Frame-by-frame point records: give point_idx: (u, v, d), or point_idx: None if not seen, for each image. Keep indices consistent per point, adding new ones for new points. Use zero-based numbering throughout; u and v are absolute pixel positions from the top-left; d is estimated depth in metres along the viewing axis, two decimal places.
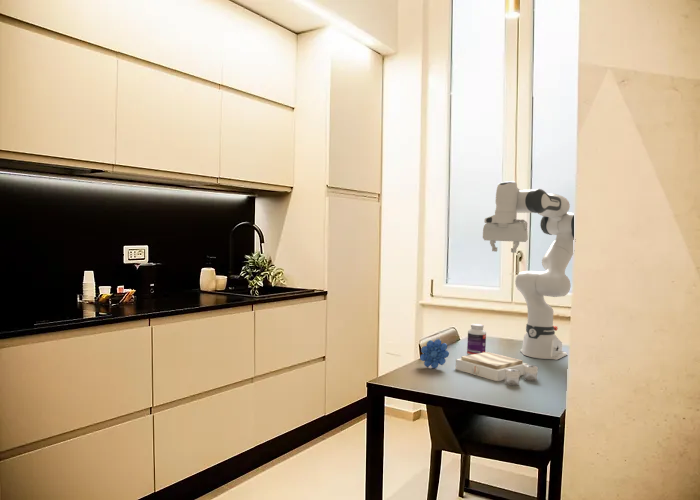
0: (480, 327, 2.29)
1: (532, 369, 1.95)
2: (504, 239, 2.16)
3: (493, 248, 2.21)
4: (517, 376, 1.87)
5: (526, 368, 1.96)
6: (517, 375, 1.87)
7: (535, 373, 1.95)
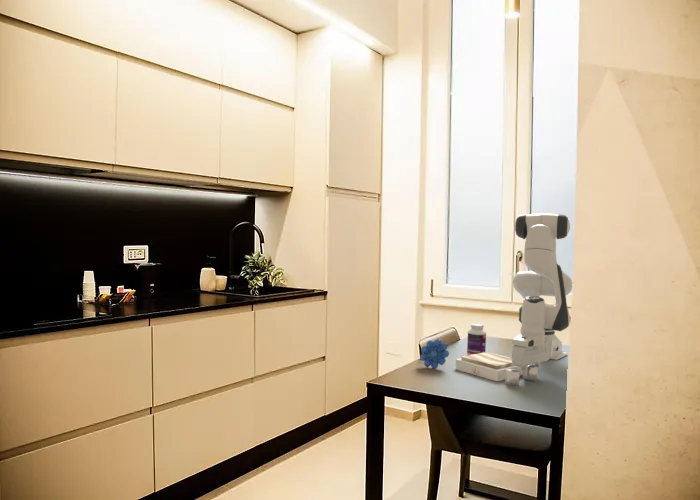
0: (480, 327, 2.29)
1: (532, 369, 1.95)
2: (536, 361, 1.96)
3: (527, 373, 1.94)
4: (517, 376, 1.87)
5: None
6: (517, 375, 1.87)
7: (535, 373, 1.95)
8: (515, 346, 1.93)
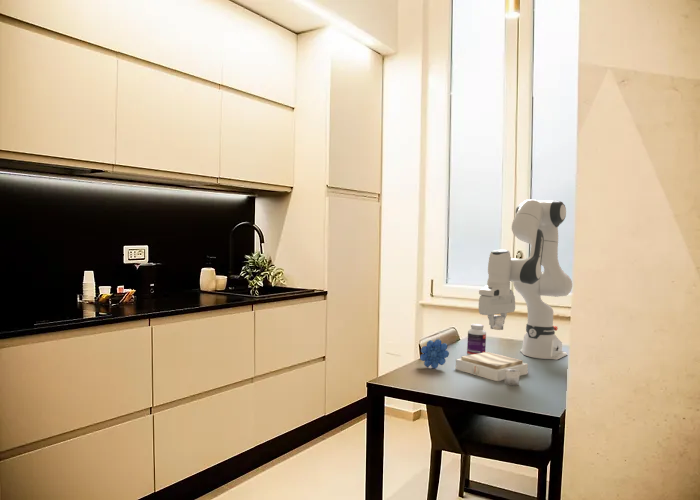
0: (480, 327, 2.29)
1: (498, 318, 2.03)
2: (502, 311, 2.05)
3: (494, 322, 2.03)
4: (517, 376, 1.87)
5: (493, 317, 2.04)
6: (517, 375, 1.87)
7: (501, 322, 2.04)
8: (482, 296, 2.01)
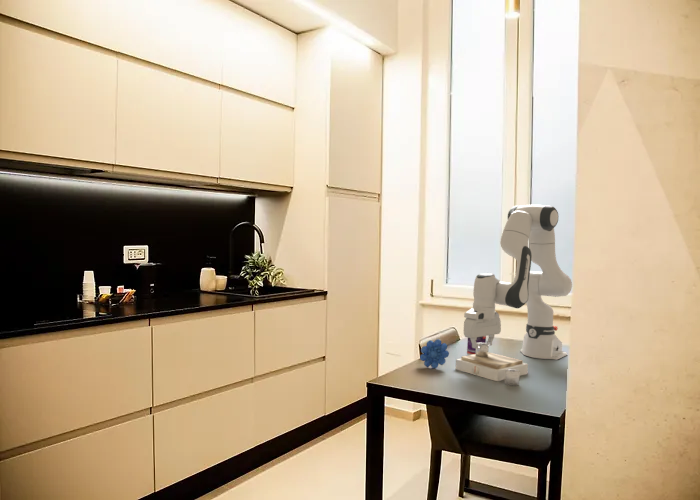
0: None
1: (483, 346, 2.08)
2: (487, 334, 2.09)
3: (476, 345, 2.06)
4: (517, 376, 1.87)
5: None
6: (517, 375, 1.87)
7: (486, 350, 2.08)
8: (467, 319, 2.06)
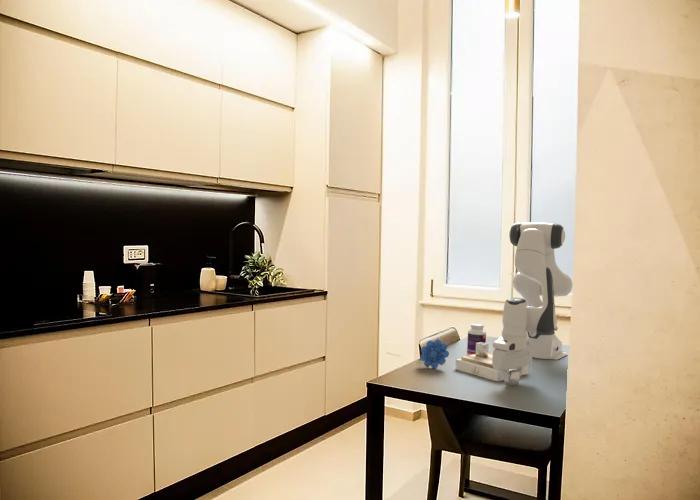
0: (480, 327, 2.29)
1: (483, 346, 2.08)
2: (518, 365, 1.89)
3: (509, 377, 1.87)
4: (517, 376, 1.87)
5: (477, 345, 2.09)
6: (517, 375, 1.87)
7: (486, 350, 2.08)
8: (496, 350, 1.85)
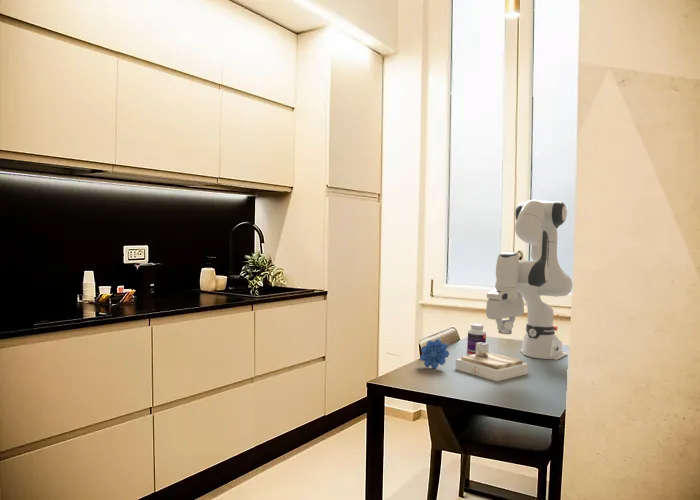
0: (480, 327, 2.29)
1: (483, 346, 2.08)
2: (511, 315, 2.01)
3: (502, 326, 1.99)
4: (509, 325, 1.99)
5: (477, 345, 2.09)
6: (510, 324, 1.99)
7: (486, 350, 2.08)
8: (489, 300, 1.97)
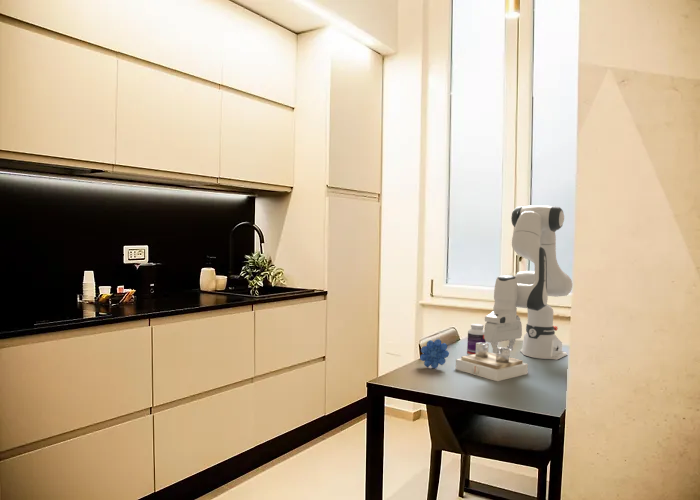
0: (480, 327, 2.29)
1: (483, 346, 2.08)
2: (509, 338, 2.01)
3: (497, 350, 1.99)
4: (507, 354, 2.00)
5: (477, 345, 2.09)
6: (507, 352, 2.00)
7: (486, 350, 2.08)
8: (487, 323, 1.98)
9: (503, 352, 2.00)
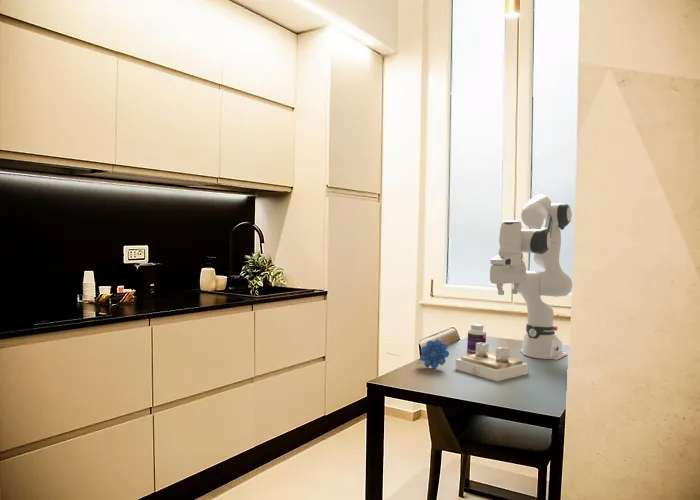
0: (480, 327, 2.29)
1: (483, 346, 2.08)
2: (514, 281, 2.07)
3: (503, 291, 2.04)
4: (507, 354, 2.00)
5: (477, 345, 2.09)
6: (507, 352, 2.00)
7: (486, 350, 2.08)
8: (493, 265, 2.03)
9: (503, 352, 2.00)
